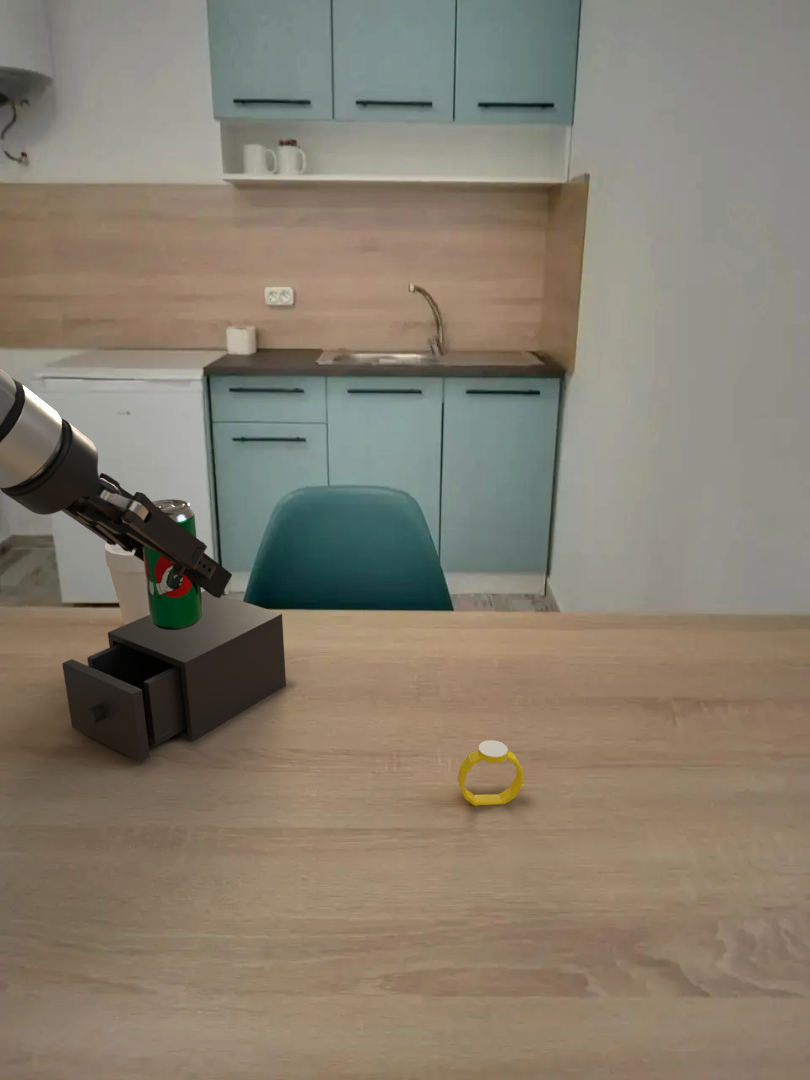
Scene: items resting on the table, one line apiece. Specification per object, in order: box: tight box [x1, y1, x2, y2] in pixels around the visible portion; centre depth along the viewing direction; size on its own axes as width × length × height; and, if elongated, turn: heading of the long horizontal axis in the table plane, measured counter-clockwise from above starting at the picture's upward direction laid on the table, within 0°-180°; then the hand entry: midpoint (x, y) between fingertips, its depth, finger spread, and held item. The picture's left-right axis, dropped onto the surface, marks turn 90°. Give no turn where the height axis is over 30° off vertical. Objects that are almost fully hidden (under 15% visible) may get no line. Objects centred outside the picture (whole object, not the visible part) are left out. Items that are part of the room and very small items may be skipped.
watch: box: [457, 739, 524, 807], centre depth 78 cm, size 6×3×6 cm, turn 98°
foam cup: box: [104, 542, 150, 625], centre depth 111 cm, size 10×9×13 cm
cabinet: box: [107, 590, 287, 743], centre depth 95 cm, size 15×13×10 cm
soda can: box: [142, 498, 203, 630], centre depth 80 cm, size 5×5×12 cm
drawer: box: [61, 643, 187, 763], centre depth 90 cm, size 15×11×8 cm
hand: (203, 578), depth 84 cm, fingers closed on soda can, 5 cm apart
